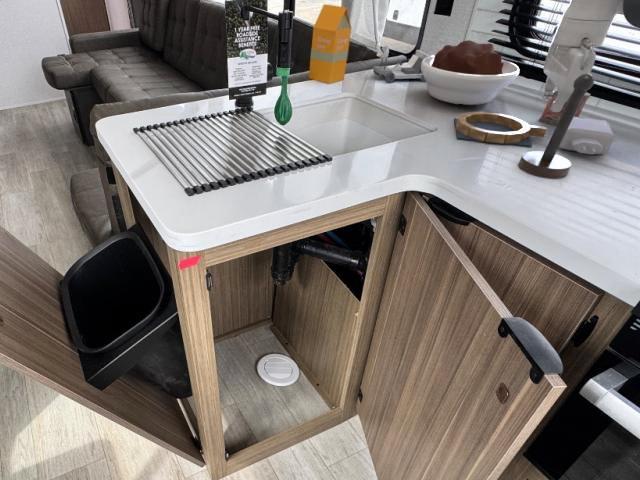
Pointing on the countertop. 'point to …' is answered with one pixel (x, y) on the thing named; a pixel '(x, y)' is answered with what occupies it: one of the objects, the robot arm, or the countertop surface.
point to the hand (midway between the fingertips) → (550, 104)
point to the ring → (494, 136)
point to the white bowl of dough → (467, 73)
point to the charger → (588, 136)
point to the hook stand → (557, 138)
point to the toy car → (400, 66)
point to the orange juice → (330, 45)
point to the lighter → (555, 116)
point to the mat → (492, 127)
